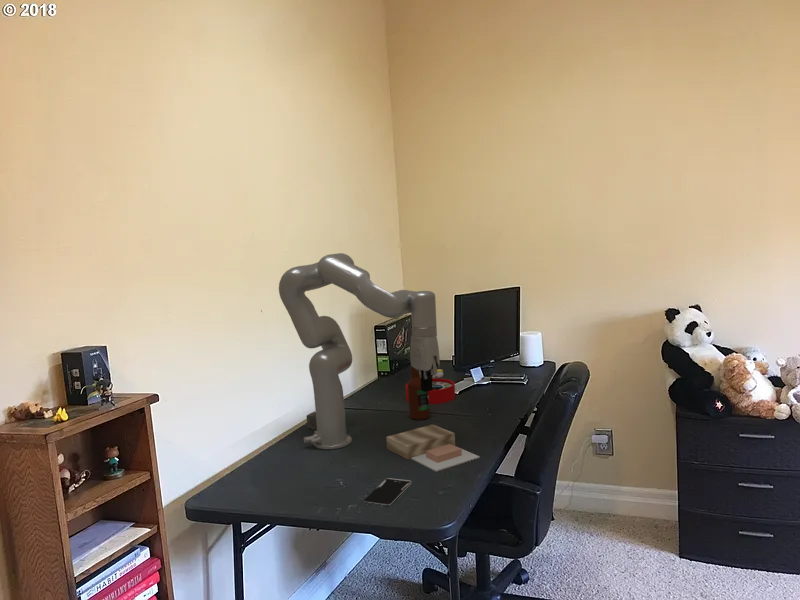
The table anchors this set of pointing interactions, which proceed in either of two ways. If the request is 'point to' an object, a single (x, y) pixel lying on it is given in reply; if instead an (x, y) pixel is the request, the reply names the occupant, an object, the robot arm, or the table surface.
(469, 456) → the mat
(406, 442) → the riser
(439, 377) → the toy figures
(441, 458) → the tile
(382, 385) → the table surface
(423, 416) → the bottle
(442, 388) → the toy clock
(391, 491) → the smartphone
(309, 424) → the dice cube
